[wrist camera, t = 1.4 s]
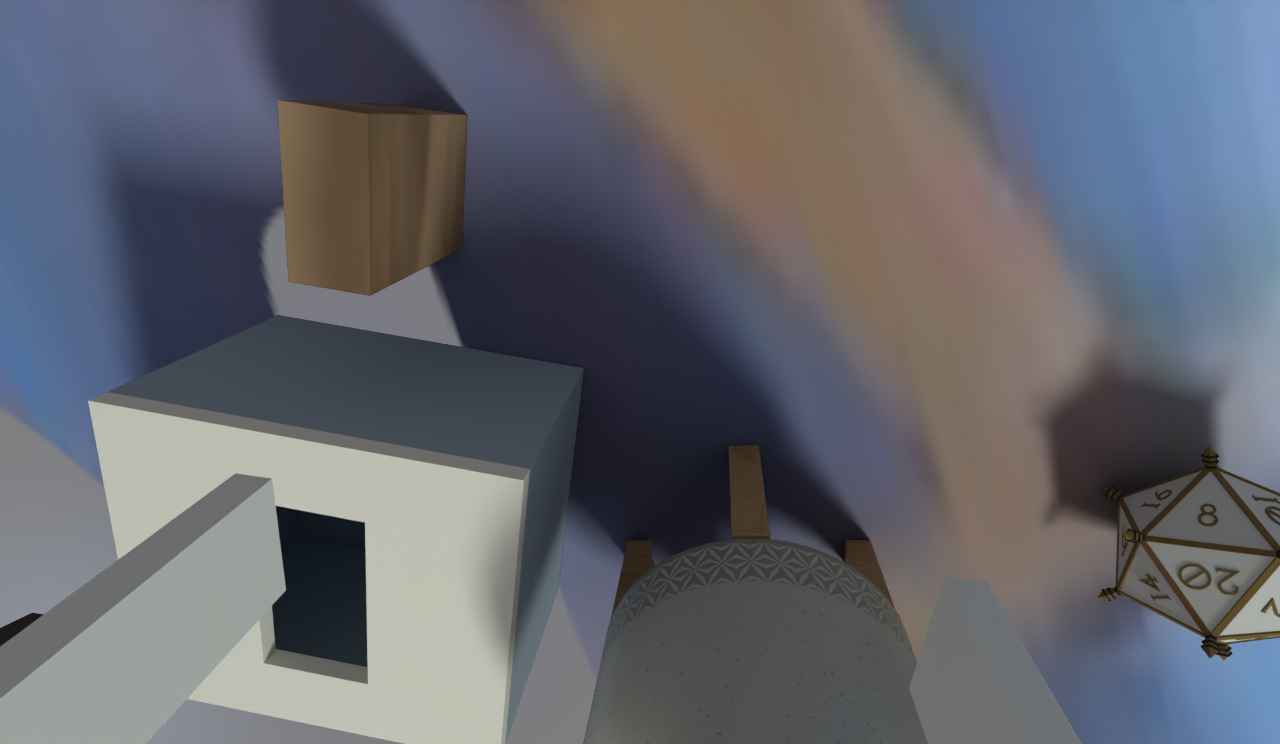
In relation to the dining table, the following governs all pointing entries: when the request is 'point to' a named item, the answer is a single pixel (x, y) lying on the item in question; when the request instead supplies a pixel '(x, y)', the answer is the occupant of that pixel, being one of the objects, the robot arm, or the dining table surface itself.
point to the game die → (1202, 554)
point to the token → (369, 191)
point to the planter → (754, 641)
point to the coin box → (366, 516)
